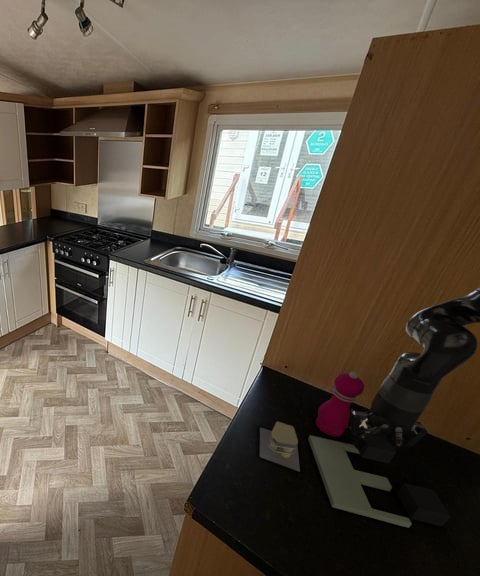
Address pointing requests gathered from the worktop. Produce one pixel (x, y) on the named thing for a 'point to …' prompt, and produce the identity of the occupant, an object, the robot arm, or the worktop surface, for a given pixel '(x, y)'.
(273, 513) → the worktop surface
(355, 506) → the pale green e-shaped block
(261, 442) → the stacked layers on plate
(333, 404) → the pepper mill
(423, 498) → the black block
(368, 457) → the dark charcoal cube
